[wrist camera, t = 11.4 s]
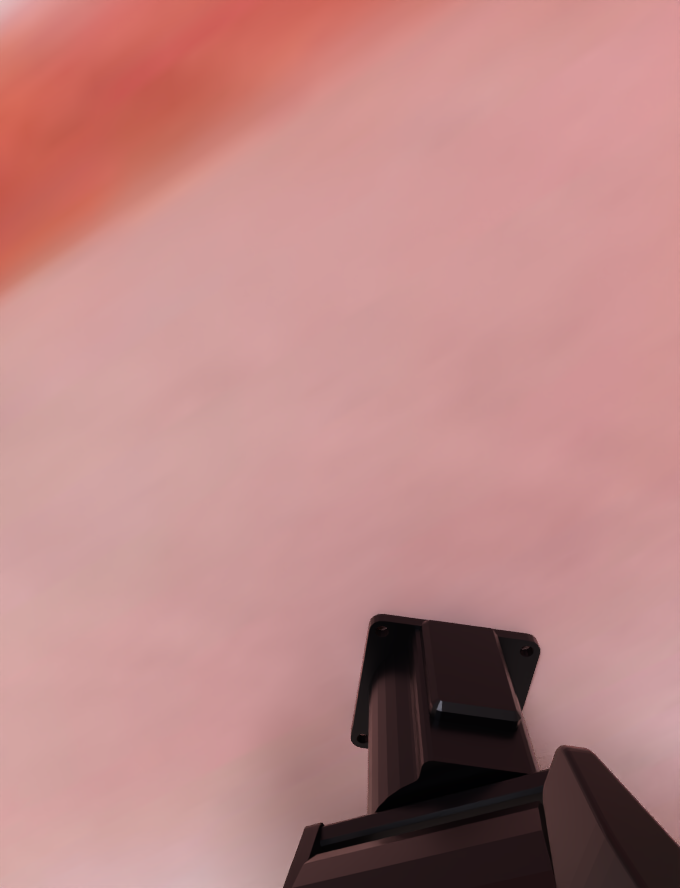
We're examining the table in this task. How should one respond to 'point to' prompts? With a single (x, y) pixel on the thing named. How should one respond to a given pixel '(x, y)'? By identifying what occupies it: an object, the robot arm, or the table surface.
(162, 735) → the table surface
